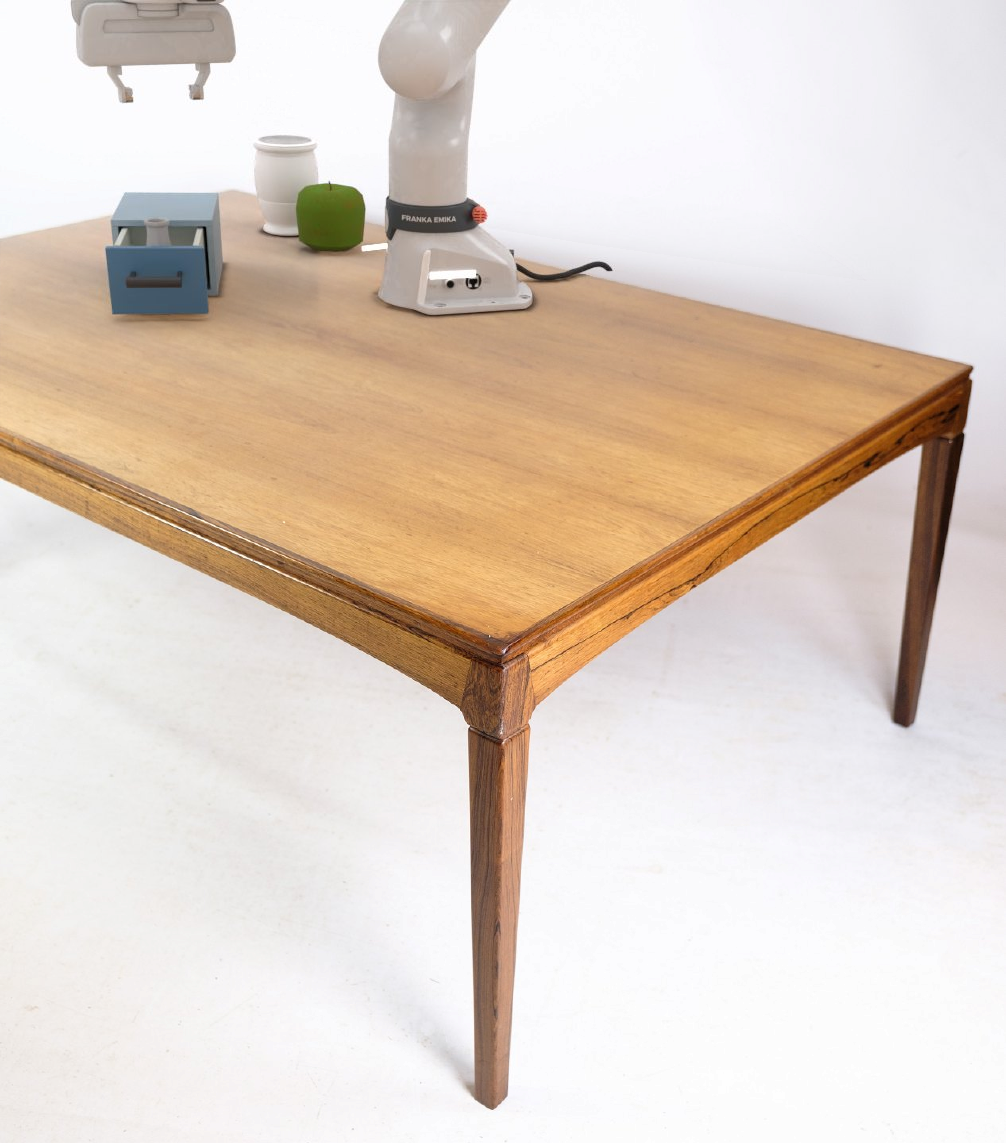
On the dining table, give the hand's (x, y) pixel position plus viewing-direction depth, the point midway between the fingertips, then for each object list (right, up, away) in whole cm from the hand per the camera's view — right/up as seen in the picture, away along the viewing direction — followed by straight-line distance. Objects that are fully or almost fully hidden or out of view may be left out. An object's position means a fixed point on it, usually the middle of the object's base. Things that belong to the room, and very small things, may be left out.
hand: (162, 101), depth 171 cm
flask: (-2, -24, +8) cm, 25 cm away
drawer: (-2, -25, +8) cm, 26 cm away
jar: (+8, -4, +50) cm, 51 cm away
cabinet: (-4, -19, +21) cm, 29 cm away
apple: (+17, -10, +41) cm, 45 cm away
